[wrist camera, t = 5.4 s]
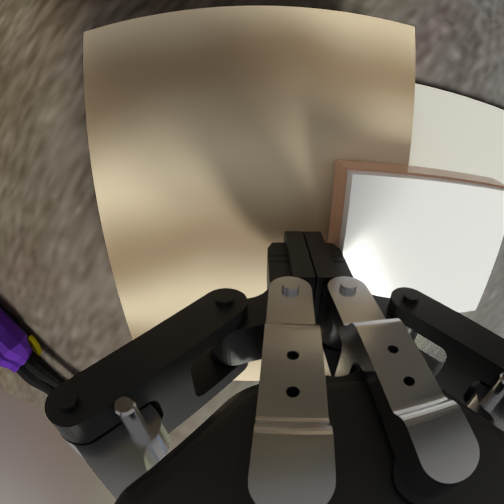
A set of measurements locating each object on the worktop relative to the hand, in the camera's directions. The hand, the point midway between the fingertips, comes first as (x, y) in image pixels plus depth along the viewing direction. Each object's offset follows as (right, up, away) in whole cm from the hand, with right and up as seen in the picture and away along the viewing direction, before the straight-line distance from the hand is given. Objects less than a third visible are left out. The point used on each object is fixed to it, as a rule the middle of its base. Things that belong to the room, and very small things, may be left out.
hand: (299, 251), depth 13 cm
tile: (+6, +1, +1) cm, 6 cm away
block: (-2, +4, +7) cm, 8 cm away
